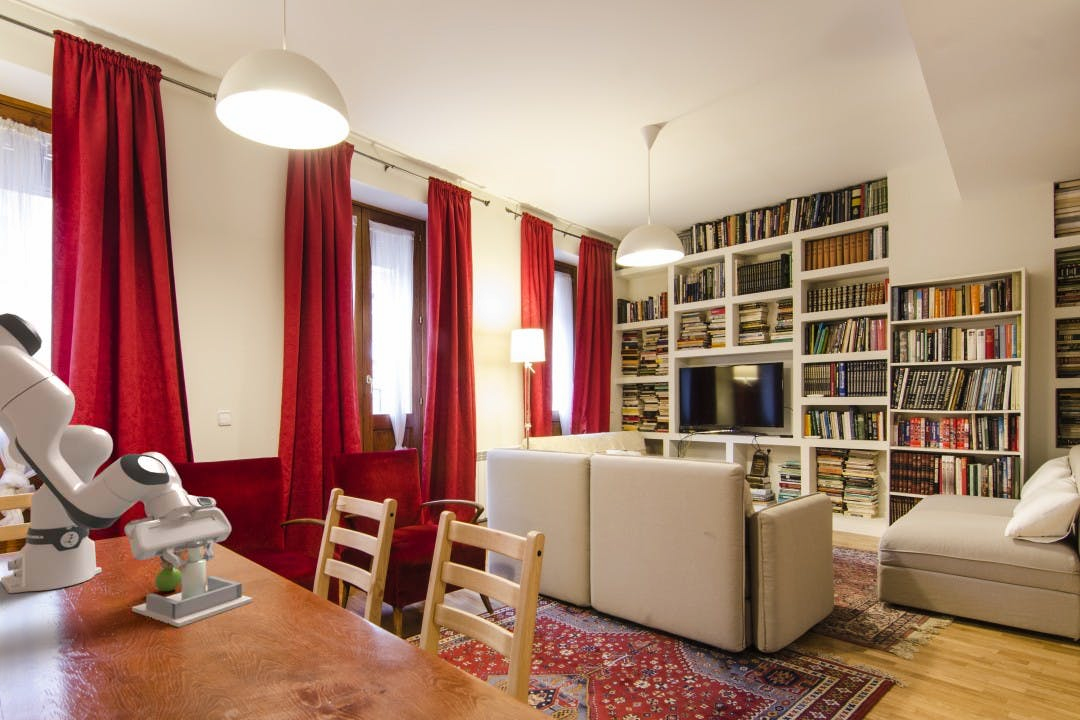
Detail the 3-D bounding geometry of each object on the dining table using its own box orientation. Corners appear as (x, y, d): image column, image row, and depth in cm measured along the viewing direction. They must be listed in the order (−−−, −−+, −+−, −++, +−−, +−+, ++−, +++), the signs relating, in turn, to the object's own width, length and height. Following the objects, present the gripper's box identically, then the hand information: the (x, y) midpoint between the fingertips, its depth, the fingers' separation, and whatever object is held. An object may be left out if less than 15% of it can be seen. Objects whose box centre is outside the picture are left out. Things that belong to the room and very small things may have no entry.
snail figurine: (172, 595, 136) (173, 543, 136) (149, 594, 137) (150, 541, 138) (190, 587, 141) (191, 537, 142) (168, 586, 142) (169, 536, 143)
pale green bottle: (176, 604, 128) (177, 543, 129) (198, 597, 132) (198, 539, 133) (188, 607, 126) (189, 546, 127) (209, 601, 130) (210, 541, 131)
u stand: (132, 610, 127) (132, 593, 127) (205, 588, 141) (206, 572, 141) (178, 627, 118) (179, 607, 118) (252, 601, 132) (252, 584, 132)
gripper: (127, 513, 125) (150, 566, 119) (220, 497, 142) (245, 543, 137) (115, 532, 127) (138, 585, 121) (209, 514, 144) (233, 560, 139)
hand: (195, 562), depth 129 cm, fingers open, 5 cm apart
